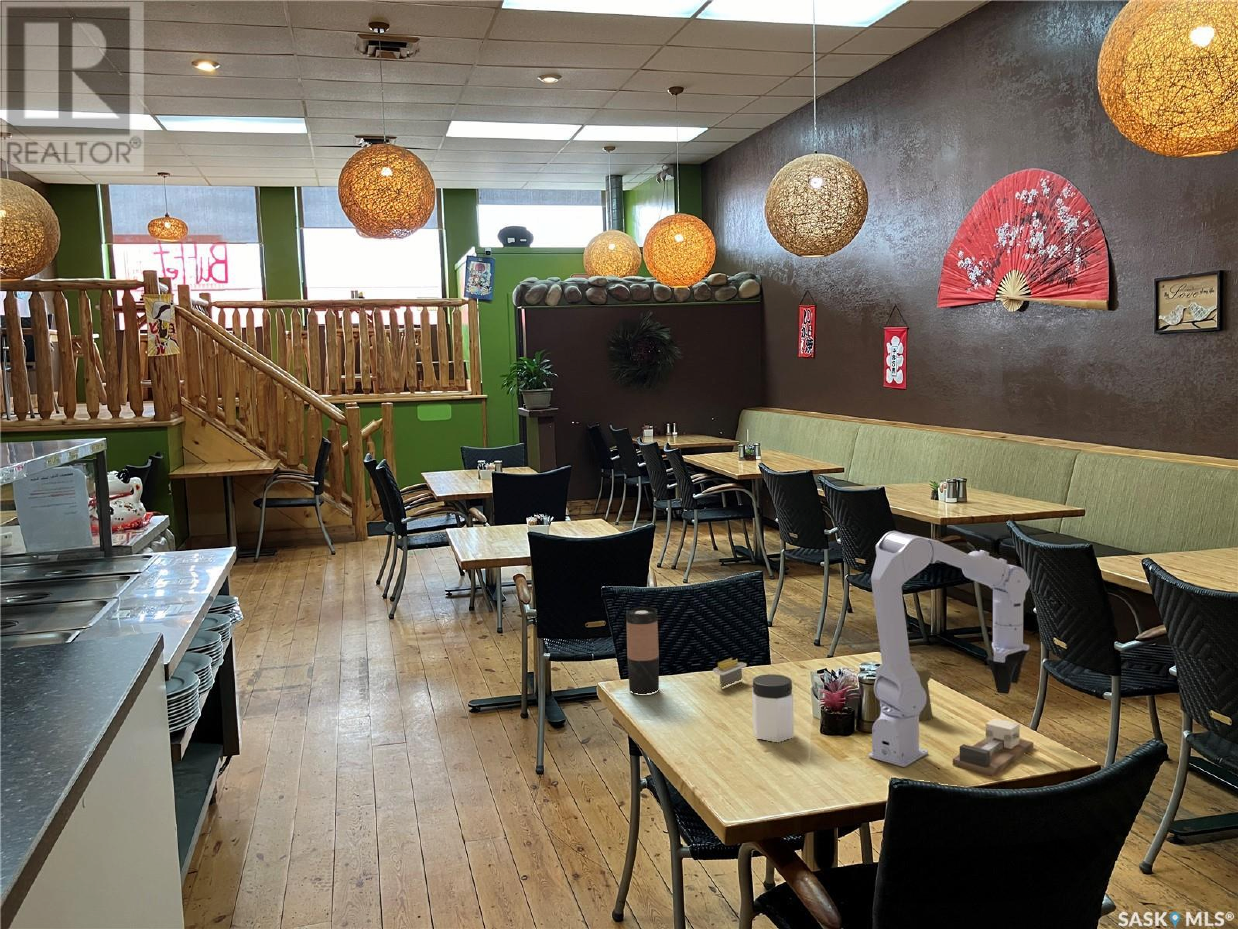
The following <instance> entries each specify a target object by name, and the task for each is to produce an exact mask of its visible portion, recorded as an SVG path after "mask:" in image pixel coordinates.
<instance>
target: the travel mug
mask: <svg viewBox="0 0 1238 929" xmlns="http://www.w3.org/2000/svg"><path fill="white" fill-rule="evenodd" d="M625 616H626V646H627V647H626V648H627V649H626V652H627V654H626V656H627V672H628V687H629V688H628V689H629V692H630V691H632V692H633V693H638V694H647V693H652V692H655V691H657V690H658V689H660V670H659V669H660V663H659V662H660V661H659V660H660V657H659V656H660V654H659V653H660V651H659V628H658V627H659V626H658V610H657V609H656V608H654V607H649V606H637V607H634V608H633V609H632V610H629V609H627V610H626V613H625Z"/></svg>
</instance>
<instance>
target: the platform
mask: <svg viewBox="0 0 1238 929" xmlns="http://www.w3.org/2000/svg"><path fill="white" fill-rule="evenodd" d="M745 667H747V663H746V662H742V661H741V662H739V661H738V658H736V659H734V660H733V657H731V658H728V659H724V660H722V661H719V662H717V667H715V668H713V669H712V670H713V673H715V674H717V675H719V685H720V684H721V687H724V686H726V685H728V684H732V683H734V682H735V681H739V680H741V679H742V680H743V674H742V673H743V668H745ZM721 687H720V688H721Z"/></svg>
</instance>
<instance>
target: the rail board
mask: <svg viewBox="0 0 1238 929" xmlns="http://www.w3.org/2000/svg"><path fill="white" fill-rule="evenodd" d="M1032 748H1033V749H1034V741H1031V740H1025V739H1022V738H1020V743H1019V744H1018V745H1016V746H1015V747H1013V748H1012V749H1009V748H1005V747H1004V740H1000V739H994V740H993V741H991V742H990V743H986V737H985V738H982V739H981V740H980V741H978V742H977V743H975V744H973V745H969V744H964V743H963V744H962V745H959V754H958V755H956V756H954V757H953V758H952V766H955V767H959V768H962V769H966V770H970V771H974V772H977V773H981V774H984V775H988V776H991V777H995V776H996V775H997V774H999V773H1000V772H1002V771H1003V770H1004V769H1006V768H1007V767H1008V766H1010V765H1011V764H1013V763H1014V762H1016V761H1017V760H1019V759H1020V758H1021V757H1023V756H1024V755H1025V754H1024V753H1026V754H1027V753H1028V752H1030V751H1031V750H1033V749H1032ZM1030 749H1031V750H1030ZM1029 750H1030V751H1029ZM1019 757H1020V758H1019ZM1015 760H1016V761H1015Z"/></svg>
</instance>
